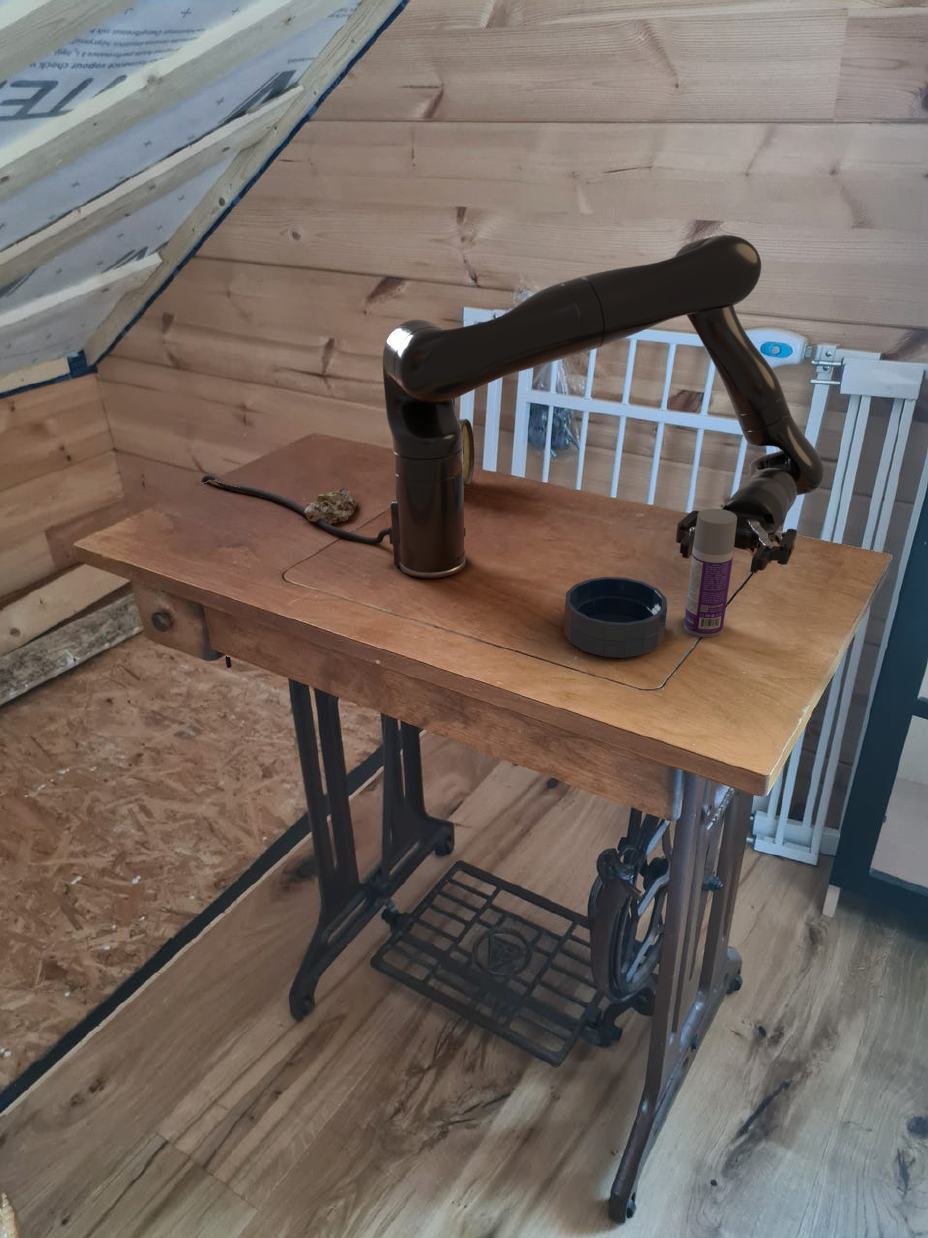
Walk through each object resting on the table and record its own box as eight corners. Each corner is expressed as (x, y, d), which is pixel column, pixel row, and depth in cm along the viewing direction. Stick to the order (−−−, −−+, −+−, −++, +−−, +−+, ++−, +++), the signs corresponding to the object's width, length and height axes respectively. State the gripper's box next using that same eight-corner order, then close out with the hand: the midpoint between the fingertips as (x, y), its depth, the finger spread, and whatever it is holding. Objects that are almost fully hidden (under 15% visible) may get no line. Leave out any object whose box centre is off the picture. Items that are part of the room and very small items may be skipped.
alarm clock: (463, 502, 150) (461, 405, 142) (431, 500, 151) (427, 403, 143) (476, 478, 159) (475, 385, 151) (446, 476, 160) (443, 384, 152)
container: (727, 624, 114) (743, 513, 107) (715, 641, 111) (730, 527, 103) (691, 615, 116) (704, 505, 109) (678, 631, 113) (690, 518, 105)
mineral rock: (338, 516, 140) (294, 495, 142) (333, 540, 142) (290, 519, 144) (373, 494, 149) (331, 474, 151) (368, 517, 151) (327, 497, 153)
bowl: (547, 645, 111) (548, 609, 108) (588, 603, 120) (590, 569, 117) (641, 671, 105) (645, 634, 103) (677, 625, 114) (680, 590, 112)
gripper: (706, 477, 126) (666, 519, 114) (814, 496, 119) (783, 542, 107) (700, 527, 129) (660, 573, 117) (804, 548, 123) (773, 598, 111)
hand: (719, 558), depth 112 cm, fingers open, 8 cm apart
